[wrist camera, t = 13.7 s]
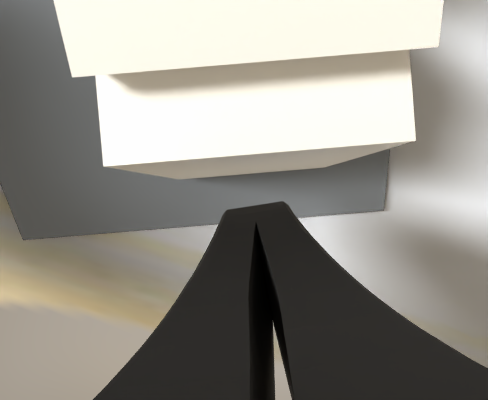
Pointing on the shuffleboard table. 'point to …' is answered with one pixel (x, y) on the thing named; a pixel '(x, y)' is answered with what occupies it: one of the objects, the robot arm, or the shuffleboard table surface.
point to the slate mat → (115, 180)
